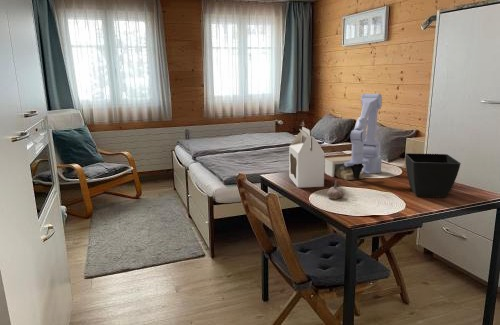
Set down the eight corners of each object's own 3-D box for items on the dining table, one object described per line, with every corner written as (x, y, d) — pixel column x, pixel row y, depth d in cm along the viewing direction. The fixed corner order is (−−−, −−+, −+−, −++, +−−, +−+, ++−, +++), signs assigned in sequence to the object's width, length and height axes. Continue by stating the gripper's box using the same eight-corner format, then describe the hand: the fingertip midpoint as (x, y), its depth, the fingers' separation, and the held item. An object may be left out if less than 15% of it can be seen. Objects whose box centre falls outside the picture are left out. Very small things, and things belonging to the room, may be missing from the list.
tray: (354, 173, 212) (354, 164, 211) (364, 178, 202) (365, 168, 201) (334, 175, 209) (335, 166, 208) (344, 180, 199) (344, 170, 198)
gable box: (289, 176, 208) (289, 126, 203) (312, 175, 210) (313, 125, 204) (297, 188, 187) (298, 131, 181) (324, 186, 188) (325, 130, 182)
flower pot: (457, 200, 163) (461, 162, 159) (411, 199, 166) (413, 161, 163) (444, 188, 181) (447, 153, 177) (402, 187, 184) (404, 153, 181)
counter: (353, 170, 220) (353, 155, 218) (362, 174, 210) (362, 159, 208) (324, 172, 215) (324, 158, 214) (332, 177, 206) (332, 161, 204)
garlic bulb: (343, 195, 173) (343, 178, 171) (344, 200, 166) (345, 183, 164) (326, 195, 174) (326, 178, 173) (326, 200, 167) (327, 182, 166)
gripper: (363, 150, 202) (362, 174, 205) (341, 152, 196) (340, 178, 199) (372, 152, 196) (371, 177, 199) (349, 155, 190) (348, 181, 193)
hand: (356, 178), depth 199 cm, fingers closed
